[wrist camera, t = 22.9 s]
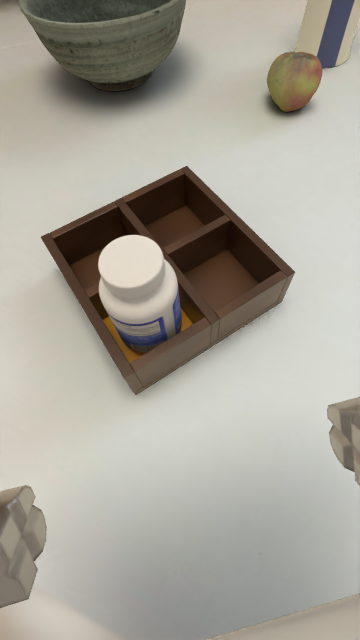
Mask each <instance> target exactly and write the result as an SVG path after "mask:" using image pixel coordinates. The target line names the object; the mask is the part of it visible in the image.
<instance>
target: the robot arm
mask: <svg viewBox="0 0 360 640" xmlns="http://www.w3.org/2000/svg"><path fill="white" fill-rule="evenodd" d="M327 416H328V419H329V420H330V421H331V422H332V424H333V426H332V428H331V430H330V431H329V436H330V443H331V446H332V448H333V451H334V454H335V455H336V457H337V459H338V460H339V462H340V463H341V464H342V465H343V466H344V468H346V469H349V470H351V471H353V472H355V481H356V482H357V483H358V484H359V485H360V397H357V398H354V399H350V400H346V401H342V402H339V403H335V404H331V405H328V409H327ZM34 500H35V495H34V493H33V491H32V489H31V487H29V486H26V485H25V486H21V487H17V488H13V489H9V490H4V491H0V608H2V607H5V606H8V605H11V604H14V603H18V602H20V601H24V600H27V599H29V596H30V593H31V590H32V586H33V583H34V580H35V576H36V573H37V570H38V569H37V567H36V565H35V563H34V561H35V560H36V559H37V558H38V556H39V555H40V554H41V553H42V552H43V549H44V545H45V542H46V528H47V527H46V522H45V517H44V515H43V512H42V510H41V509H39V508H37V507H35V506H34V505H33V502H34ZM205 640H360V594H356V595H353V596H350V597H346V598H343V599H340V600H336V601H333V602H330V603H326V604H323V605H320V606H316V607H313V608H310V609H306V610H303V611H300V612H296V613H293V614H290V615H286V616H283V617H280V618H276V619H273V620H269V621H266V622H263V623H259V624H256V625H253V626H249V627H246V628H243V629H239V630H236V631H232V632H229V633H226V634H222V635H219V636H216V637H212V638H209V639H205Z"/></svg>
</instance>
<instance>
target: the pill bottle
mask: <svg viewBox="0 0 360 640" xmlns="http://www.w3.org/2000/svg"><path fill="white" fill-rule="evenodd" d="M98 268H99V272H100V275H101V278H100V282H99V295H100V299H101V301H102V303H103V306H104V308H105V310H106V311H107V313H108V315H109V317H110V319H111V321H112V323H113V324H114V326H115V328H116V330H117V332H118V334H119V336H120V338H121V339H122V341H123V342H124V344H125V345H126V346H127V347H128V348H129V349H130V350H132V351H133V352H135V353H138V354H141V355H144V354H145V353H147V352H149V351H150V350H152V349H153V348H155V347H157V346H158V345H160V344H162V343H163V342H165V341H167V340H168V339H170V338H171V337H173V336H175V335H176V334H178V333H180V332H181V327H182V319H181V310H180V300H179V290H178V282H177V277H176V274H175V272H174V270H173V268H172V267H171V265H170V264H169V263H168V262H167V261H166V260H165V259H164V257H163V253H162V251H161V249H160V247H159V246H158V245H157V243H155V242H154V241H153V240H151V239H149V238H147V237H144V236H140V235H127V236H123V237H120V238H117V239H115V240H113V241H112V242H110V243H109V244H108V245H107V246H106V247H105V248H104V249H103V251H102V252H101V254H100V257H99V261H98Z"/></svg>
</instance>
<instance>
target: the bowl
mask: <svg viewBox="0 0 360 640" xmlns="http://www.w3.org/2000/svg"><path fill="white" fill-rule="evenodd" d="M185 3H186V0H19V4H20V9H21V11H22V13H23V14H24V15H25V16H26V18H27V19H28V21H29V23H30V24H31V25H32V27H33V28H34V30H35V32H36V34H37V35H38V37H39V39H40V40H41V42H42V43H43V45H44V46H45V47H46V49H47V50H48V51H49V52H50V54H51V55H52V56H53V57H54V58H55V60H56V61H57V62H58V63H59V64H60V65H61V66H62V67H63V68H64V69H65V70H67V71H69V72H71V73H72V74H74V75H76V76H78V77H79V78H82V79H85V80H89V81H90V82H91V84H92V85H93V86H94V87H96V88H98V89H102V90H108V91H121V90H127V89H131V88H134V87H137V86H139V85H141V84H142V83H144V82H145V81H146V80H147V79H148V78H149V77H150V76H151V74H152V71H153V70H154V69H155V68H156V67H158V66H159V65H160V64H161V63H162V62H163V61H164V60H165V59H166V57H167V56H168V55H169V53H170V52H171V50H172V49H173V47H174V45H175V43H176V41H177V38H178V35H179V32H180V27H181V22H182V18H183V14H184V9H185Z"/></svg>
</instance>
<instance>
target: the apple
mask: <svg viewBox="0 0 360 640" xmlns="http://www.w3.org/2000/svg"><path fill="white" fill-rule="evenodd" d="M321 77H322V66H321V63H320V61H319V59H318V58H317V57H316V56H315V55H313V54H310V53H305V52H290V53H284V54H282V55H280V56H279V57H277V58H276V59H275V61H274V62H273V64H272V65H271V67H270V70H269V73H268V77H267V84H268V88H269V91H270V95H271V97H272V99H273V100H274V102H275V103H276V104H277V105H278V107H279V108H280V109H282V110H283V111H285V112H289V111H293V110H297V109H300V108H302V107H304V106H305V105H306V104H307V103H308V102H309V101H310V99H311V98H312V96H313V95H314V93H315V92H316V90H317V88H318V87H319V84H320V81H321Z"/></svg>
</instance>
